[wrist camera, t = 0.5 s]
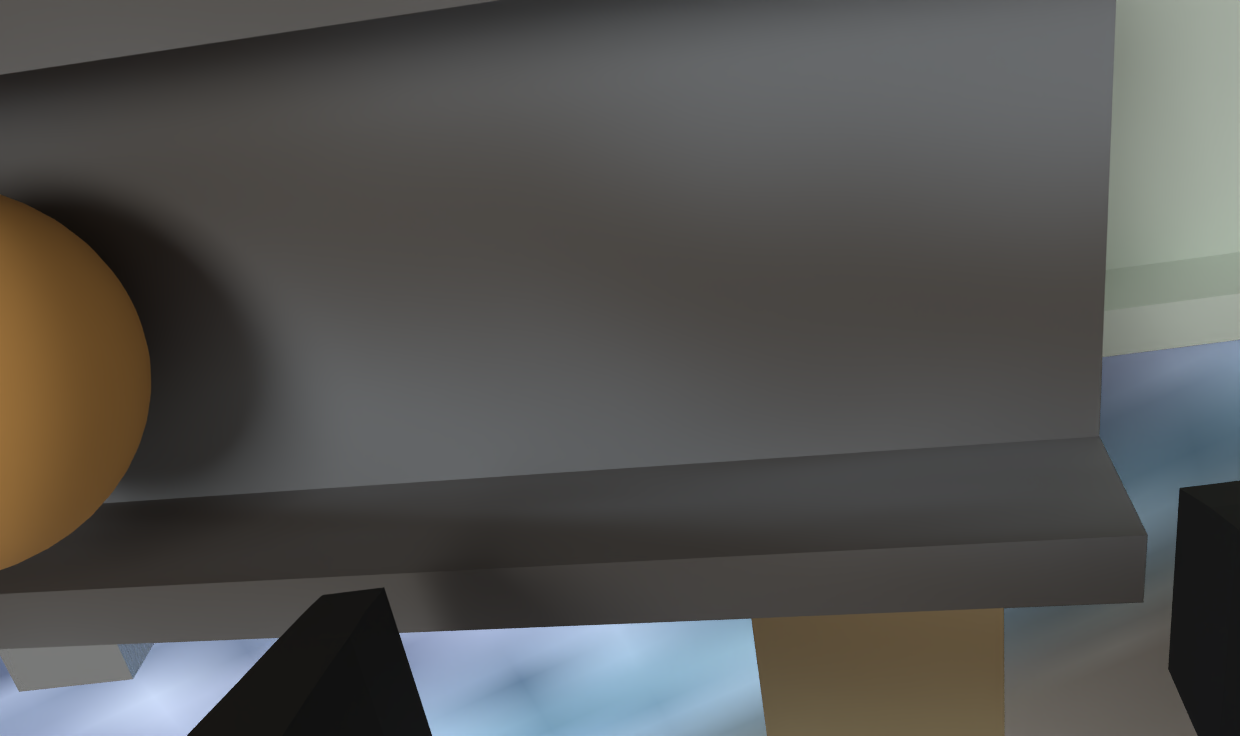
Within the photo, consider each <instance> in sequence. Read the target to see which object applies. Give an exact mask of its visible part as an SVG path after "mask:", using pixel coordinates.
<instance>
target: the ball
mask: <svg viewBox="0 0 1240 736" xmlns="http://www.w3.org/2000/svg"><path fill="white" fill-rule="evenodd" d="M150 396H151V367H150V356H149V351H148V346H147V342H146V339H145V335H144V331H143V328H142V325H141V322H140V319H139V316H138V314H137V312H136V309H135V307H134V305H133V303H132V301H131V299H130V297H129V295H128V294H127V292H126V290H125V289H124V287H123V285H122V284H121V282H120V281H119V279H118V278H117V277H116V275H115V274H114V273H113V271H112V270H111V269H110V268H109V267H108V266H107V264H106V263H105V262H104V261H103V260H102V259H101V258H100V257H99V255H98V254H97V253H96V252H95V251H94V250H93V249H92V248H91V247H90V246H89V245H88V244H87V243H85V242H84V241H83V240H82V239H81V238H79V237H78V236H77V235H75V234H74V233H73V232H71V231H70V230H69V229H67V228H66V227H65V226H64V225H62V224H61V223H59V222H58V221H56V220H55V219H53V218H51V217H49V216H47V215H45V214H44V213H42V212H40V211H38V210H36V209H34V208H32V207H30V206H28V205H26V204H24V203H22V202H19V201H16V200H14V199H11V198H8V197H6V196H3V195H0V570H2V569H5V568H8V567H11V566H13V565H16V564H18V563H20V562H22V561H24V560H26V559H28V558H30V557H32V556H34V555H36V554H38V553H40V552H42V551H44V550H46V549H48V548H50V547H51V546H53V545H54V544H56V543H57V542H59V541H60V540H62V539H63V538H65V537H66V536H68V535H69V534H71V533H72V532H73V531H75V530H76V529H77V528H78V527H79V526H80V525H82V524H83V523H84V522H85V521H86V520H87V519H89V518H90V517H91V516H92V515H93V514H94V513H95V511H96V510H97V509H98V508H99V507H100V506H101V505H102V504H103V503H104V501H105V500H106V499H107V498H108V497H109V496H110V495H111V493H112V492H113V491H114V489H115V488H116V486H117V485H118V483H119V482H120V480H121V479H122V478H123V476H124V475H125V473H126V472H127V470H128V468H129V466H130V464H131V462H132V460H133V458H134V455H135V453H136V451H137V449H138V447H139V444H140V441H141V438H142V435H143V432H144V429H145V425H146V422H147V417H148V411H149V403H150Z"/></svg>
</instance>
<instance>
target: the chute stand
mask: <svg viewBox="0 0 1240 736" xmlns="http://www.w3.org/2000/svg"><path fill="white" fill-rule="evenodd" d="M153 645H154V643H139V644H115V645H90V646H66V647H41V648H17V649H0V656H1V658H2V660H3V662H4V664H5V666H6V667H7V669H8V671H9V673H10V675H11V677H12V679H13V681H14V683H15V685H16V687H17V688H18V690H19V692H20V691H29V690H39V689H48V688H57V687H66V686H75V685H84V684H93V683H102V682H111V681H120V680H129V679H133V678H134V677H135V675H136V673H137V672H138V670H139V668H140V667H141V665H142V663H143V661H144V660H145V658H146V656H147V655H148V653H149V651H150V650H151V648H152V646H153Z"/></svg>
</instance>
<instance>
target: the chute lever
mask: <svg viewBox="0 0 1240 736" xmlns="http://www.w3.org/2000/svg"><path fill="white" fill-rule="evenodd" d="M1115 19H1116V0H0V195H3V196H6V197H8V198H11V199H14V200H16V201H19V202H22V203H24V204H26V205H28V206H30V207H32V208H34V209H36V210H38V211H40V212H42V213H44V214H45V215H47V216H49V217H51V218H53V219H55V220H56V221H58V222H59V223H61V224H62V225H64V226H65V227H66V228H67V229H69V230H70V231H71V232H73V233H74V234H75V235H77V236H78V237H79V238H81V239H82V240H83V241H84V242H85V243H87V244H88V245H89V246H90V247H91V248H92V249H93V250H94V251H95V252H96V253H97V254H98V255H99V257H100V258H101V259H102V260H103V261H104V262H105V263H106V264H107V266H108V267H109V268H110V269H111V270H112V271H113V273H114V274H115V275H116V277H117V278H118V279H119V281H120V282H121V284H122V285H123V287H124V289H125V290H126V292H127V294H128V295H129V297H130V299H131V301H132V303H133V305H134V307H135V309H136V312H137V314H138V316H139V319H140V322H141V325H142V328H143V331H144V335H145V339H146V342H147V346H148V351H149V356H150V367H151V396H150V403H149V411H148V417H147V422H146V425H145V429H144V432H143V435H142V438H141V441H140V444H139V447H138V449H137V451H136V453H135V455H134V458H133V460H132V462H131V464H130V466H129V468H128V470H127V472H126V473H125V475H124V476H123V478H122V479H121V480H120V482H119V483H118V485H117V486H116V488H115V489H114V491H113V492H112V493H111V495H110V496H109V497H108V498H107V499H106V500H105V501H104V503H103V504H102V505H101V506H100V507H99V508H98V509H97V510H96V511H95V513H94V514H93V515H92V516H91V517H90V518H89V519H87V520H86V521H85V522H84V523H83V524H82V525H80V526H79V527H78V528H77V529H76V530H75V531H73V532H72V533H71V534H69V535H68V536H66V537H65V538H63V539H62V540H60V541H59V542H57V543H56V544H54V545H53V546H51V547H50V548H48V549H46V550H44V551H42V552H40V553H38V554H36V555H34V556H32V557H30V558H28V559H26V560H24V561H22V562H20V563H18V564H16V565H13V566H11V567H8V568H5V569H2V570H0V649H17V648H41V647H66V646H90V645H115V644H139V643H163V642H188V641H212V640H237V639H261V638H280V637H281V636H282V635H283V634H284V633H285V632H286V631H287V629H288V628H289V627H290V626H291V625H292V624H293V623H294V622H295V621H296V620H297V619H298V618H299V617H300V616H301V615H302V614H303V613H304V612H305V611H306V610H307V609H308V608H309V607H310V606H311V605H312V604H313V603H314V602H315V601H316V600H317V599H318V598H319V597H321V596H322V595H326V594H334V593H342V592H350V591H358V590H366V589H374V588H382V587H384V588H385V591H386V594H387V597H388V600H389V603H390V607H391V610H392V613H393V616H394V619H395V622H396V625H397V628H398V631H399V633H408V632H432V631H456V630H481V629H505V628H530V627H554V626H578V625H603V624H627V623H652V622H676V621H700V620H725V619H749V618H751V619H752V627H753V634H754V641H755V649H756V656H757V664H758V671H759V679H760V686H761V694H762V701H763V709H764V716H765V724H766V731H767V736H1004V608H1018V607H1042V606H1067V605H1091V604H1115V603H1140V602H1143V599H1144V583H1145V568H1146V552H1147V537H1148V535H1147V533H1146V531H1145V529H1144V527H1143V525H1142V523H1141V521H1140V519H1139V517H1138V514H1137V512H1136V510H1135V508H1134V506H1133V504H1132V502H1131V500H1130V498H1129V496H1128V494H1127V492H1126V490H1125V488H1124V486H1123V484H1122V482H1121V480H1120V478H1119V476H1118V474H1117V472H1116V470H1115V468H1114V466H1113V463H1112V461H1111V459H1110V457H1109V455H1108V453H1107V451H1106V449H1105V447H1104V445H1103V443H1102V441H1101V439H1100V437H1099V428H1100V403H1101V377H1102V352H1103V326H1104V300H1105V275H1106V249H1107V224H1108V198H1109V172H1110V147H1111V121H1112V96H1113V70H1114V45H1115Z"/></svg>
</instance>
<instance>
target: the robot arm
mask: <svg viewBox="0 0 1240 736" xmlns="http://www.w3.org/2000/svg"><path fill="white" fill-rule="evenodd" d="M1168 669H1169V672H1170V674H1171V676H1172V679H1173V681H1174V683H1175V685H1176V688H1177V690H1178V692H1179V694H1180V697H1181V699H1182V701H1183V704H1184V706H1185V708H1186V710H1187V713H1188V715H1189V717H1190V719H1191V722H1192V724H1193V726H1194V728H1195V730H1196V733H1197V735H1198V736H1240V481H1233V482H1225V483H1217V484H1209V485H1201V486H1193V487H1185V488H1180V490H1179V506H1178V522H1177V538H1176V554H1175V570H1174V586H1173V602H1172V618H1171V634H1170V650H1169V667H1168ZM187 736H432V734H431V731H430V728H429V725H428V722H427V719H426V715H425V712H424V709H423V706H422V703H421V700H420V697H419V694H418V691H417V687H416V684H415V681H414V678H413V675H412V672H411V669H410V666H409V663H408V659H407V656H406V653H405V650H404V647H403V644H402V641H401V638H400V635H399V631H398V628H397V625H396V622H395V619H394V616H393V613H392V610H391V607H390V603H389V600H388V597H387V594H386V591H385V588H384V587H382V588H374V589H366V590H358V591H350V592H342V593H334V594H326V595H322V596H321V597H319V598H318V599H317V600H316V601H315V602H314V603H313V604H312V605H311V606H310V607H309V608H308V609H307V610H306V611H305V612H304V613H303V614H302V615H301V616H300V617H299V618H298V619H297V620H296V621H295V622H294V623H293V624H292V625H291V626H290V627H289V628H288V629H287V631H286V632H285V633H284V634H283V635H282V636H281V637H280V638H279V639H278V640H277V641H276V642H275V643H274V644H273V645H272V646H271V647H270V649H269V650H268V651H267V652H266V653H265V654H264V655H263V656H262V657H261V658H260V659H259V660H258V661H257V662H256V663H255V665H254V666H253V667H252V668H251V669H250V670H249V671H248V672H247V673H246V674H245V675H244V676H243V677H242V678H241V679H240V681H239V682H238V683H237V684H236V685H235V686H234V687H233V688H232V689H231V690H230V691H229V692H228V693H227V694H226V695H225V696H224V697H223V698H222V699H221V700H220V702H219V703H218V704H217V705H216V706H215V707H214V708H213V709H212V710H211V711H210V712H209V713H208V714H207V715H206V716H205V717H204V718H203V719H202V720H201V721H200V722H199V723H198V724H197V726H196V727H195V728H194V729H193V730H192V731H191V732H190V733H189V734H188V735H187Z"/></svg>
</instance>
